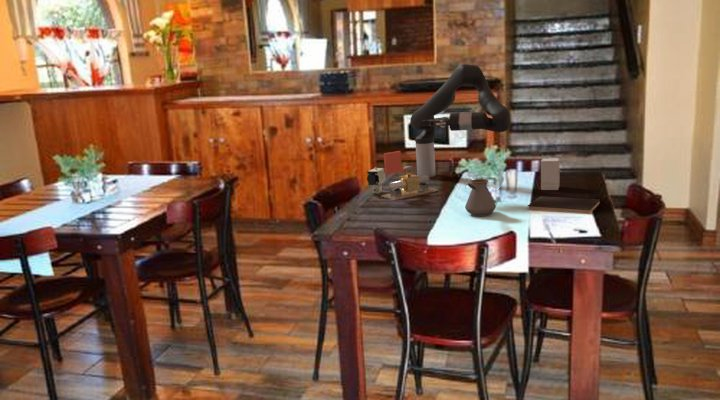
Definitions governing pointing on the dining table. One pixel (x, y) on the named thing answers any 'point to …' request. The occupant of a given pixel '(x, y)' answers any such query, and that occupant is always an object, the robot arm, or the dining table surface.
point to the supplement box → (550, 174)
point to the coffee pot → (479, 199)
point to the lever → (394, 163)
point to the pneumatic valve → (376, 179)
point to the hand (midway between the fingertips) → (421, 123)
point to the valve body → (409, 187)
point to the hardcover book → (564, 204)
